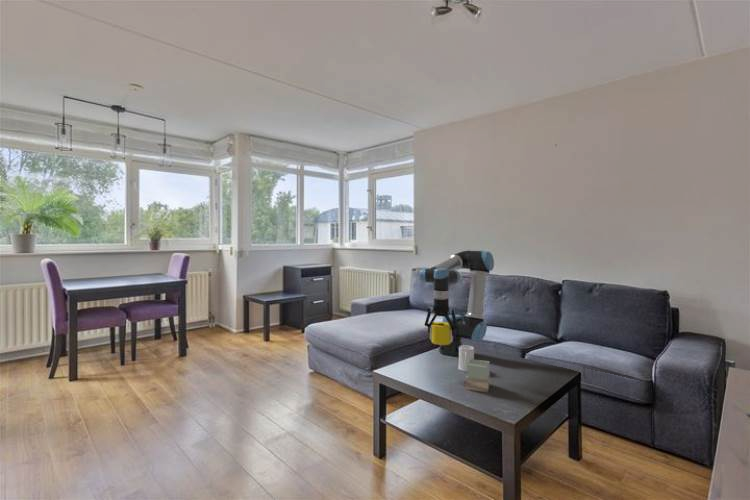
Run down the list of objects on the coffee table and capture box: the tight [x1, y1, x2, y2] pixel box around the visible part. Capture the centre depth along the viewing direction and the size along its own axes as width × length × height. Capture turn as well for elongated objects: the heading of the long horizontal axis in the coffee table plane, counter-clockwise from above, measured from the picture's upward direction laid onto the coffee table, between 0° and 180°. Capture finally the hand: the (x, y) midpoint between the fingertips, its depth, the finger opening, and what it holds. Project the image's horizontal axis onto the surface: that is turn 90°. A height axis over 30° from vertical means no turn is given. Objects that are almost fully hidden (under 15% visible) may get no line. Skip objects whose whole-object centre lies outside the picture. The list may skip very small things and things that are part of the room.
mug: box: [457, 344, 475, 372], centre depth 201 cm, size 12×8×12 cm
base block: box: [465, 372, 491, 394], centre depth 180 cm, size 10×10×6 cm
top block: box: [466, 358, 490, 380], centre depth 179 cm, size 9×9×6 cm
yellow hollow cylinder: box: [431, 321, 451, 346], centre depth 193 cm, size 10×10×9 cm
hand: (441, 340), depth 193 cm, fingers closed on yellow hollow cylinder, 10 cm apart
